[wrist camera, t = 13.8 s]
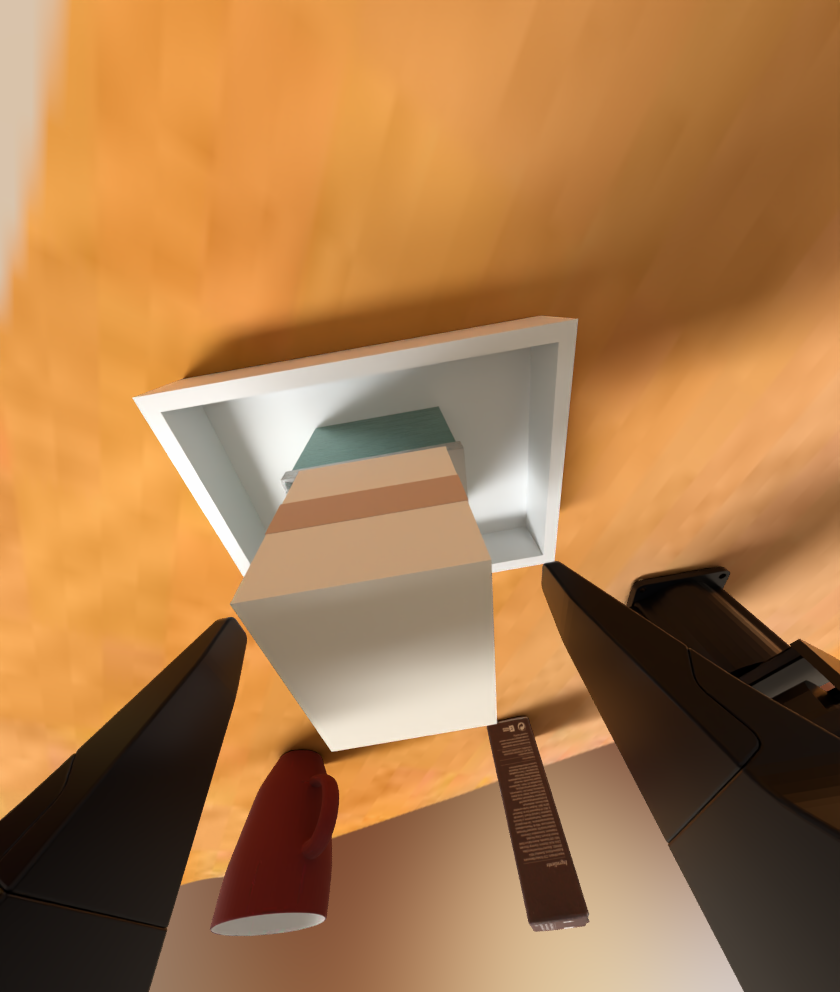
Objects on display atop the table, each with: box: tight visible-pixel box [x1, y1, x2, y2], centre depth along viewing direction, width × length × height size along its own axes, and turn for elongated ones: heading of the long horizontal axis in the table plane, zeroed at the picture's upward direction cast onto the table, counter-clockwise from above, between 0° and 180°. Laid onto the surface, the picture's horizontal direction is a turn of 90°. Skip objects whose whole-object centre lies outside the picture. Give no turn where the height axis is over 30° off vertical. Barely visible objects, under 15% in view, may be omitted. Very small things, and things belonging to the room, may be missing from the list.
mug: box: [210, 750, 339, 936], centre depth 27 cm, size 11×8×10 cm
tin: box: [280, 406, 468, 498], centre depth 13 cm, size 6×6×5 cm
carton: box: [230, 446, 497, 752], centre depth 9 cm, size 6×4×5 cm
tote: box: [133, 316, 578, 576], centre depth 15 cm, size 15×11×3 cm
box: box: [487, 716, 589, 931], centre depth 28 cm, size 6×4×12 cm
